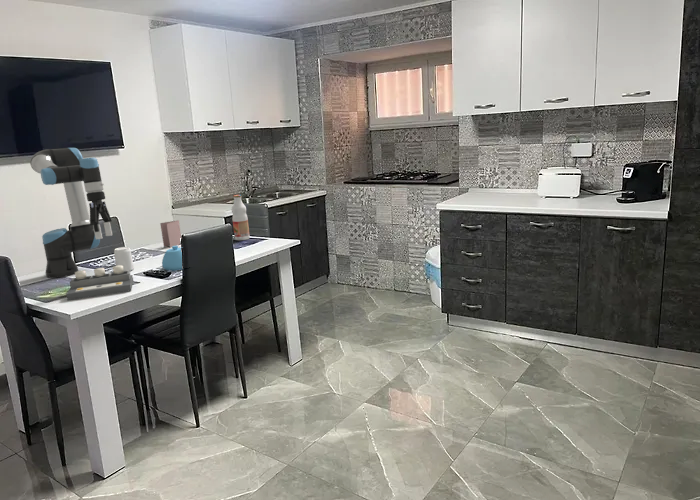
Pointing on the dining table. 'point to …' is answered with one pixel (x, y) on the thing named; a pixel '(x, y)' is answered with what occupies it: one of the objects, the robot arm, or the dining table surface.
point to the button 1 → (80, 274)
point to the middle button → (99, 272)
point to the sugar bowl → (172, 259)
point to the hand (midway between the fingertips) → (104, 237)
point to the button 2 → (118, 269)
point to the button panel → (100, 285)
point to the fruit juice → (240, 219)
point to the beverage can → (124, 258)
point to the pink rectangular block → (171, 233)
